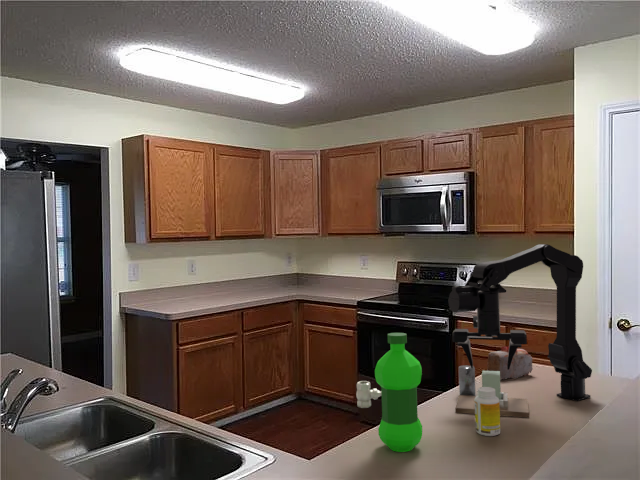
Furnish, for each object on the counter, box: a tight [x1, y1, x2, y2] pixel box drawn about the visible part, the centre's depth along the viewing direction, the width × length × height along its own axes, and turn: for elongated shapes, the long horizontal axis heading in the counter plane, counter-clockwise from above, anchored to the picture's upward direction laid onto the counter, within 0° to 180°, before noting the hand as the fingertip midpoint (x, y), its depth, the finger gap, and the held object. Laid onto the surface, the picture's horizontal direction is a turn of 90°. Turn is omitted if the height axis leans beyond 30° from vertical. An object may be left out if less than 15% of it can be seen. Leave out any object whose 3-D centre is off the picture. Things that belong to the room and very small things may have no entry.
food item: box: [486, 345, 534, 381], centre depth 177 cm, size 14×8×10 cm, turn 115°
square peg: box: [481, 370, 502, 400], centre depth 146 cm, size 4×4×8 cm
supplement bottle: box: [474, 386, 501, 437], centre depth 128 cm, size 6×6×10 cm
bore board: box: [454, 390, 530, 418], centre depth 146 cm, size 18×12×3 cm, turn 71°
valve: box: [356, 380, 382, 409], centre depth 152 cm, size 7×7×12 cm
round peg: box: [458, 364, 477, 396], centre depth 158 cm, size 4×4×8 cm
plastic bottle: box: [374, 332, 423, 453], centre depth 120 cm, size 10×10×25 cm
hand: (490, 368), depth 146 cm, fingers open, 9 cm apart
